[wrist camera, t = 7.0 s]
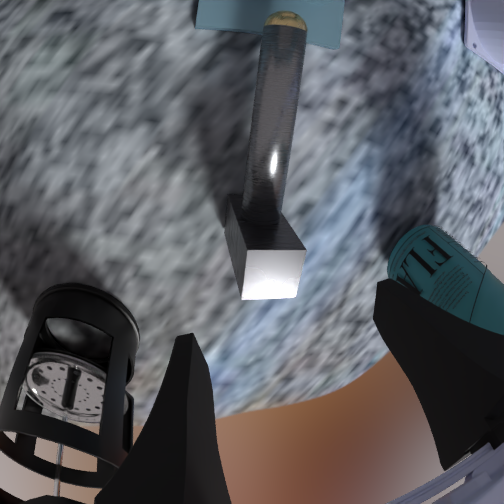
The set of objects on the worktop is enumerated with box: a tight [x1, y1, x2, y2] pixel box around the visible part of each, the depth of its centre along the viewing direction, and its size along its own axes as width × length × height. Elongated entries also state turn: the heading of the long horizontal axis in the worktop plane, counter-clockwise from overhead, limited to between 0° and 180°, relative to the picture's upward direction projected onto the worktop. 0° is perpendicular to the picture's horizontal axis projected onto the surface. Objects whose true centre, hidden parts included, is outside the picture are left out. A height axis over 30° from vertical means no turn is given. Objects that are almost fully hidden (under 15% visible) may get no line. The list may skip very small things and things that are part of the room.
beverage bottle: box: [387, 225, 504, 335], centre depth 15 cm, size 6×7×20 cm
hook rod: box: [224, 10, 308, 300], centre depth 14 cm, size 13×3×7 cm, turn 173°
